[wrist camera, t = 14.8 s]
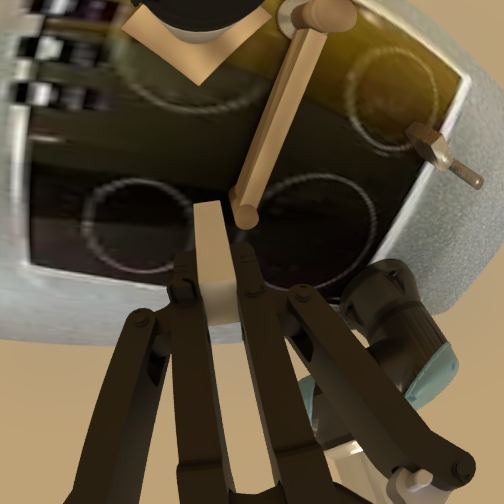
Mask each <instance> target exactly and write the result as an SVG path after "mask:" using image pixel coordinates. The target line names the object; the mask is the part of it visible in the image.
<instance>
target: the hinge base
mask: <svg viewBox="0 0 504 504" xmlns="http://www.w3.org/2000/svg"><path fill="white" fill-rule="evenodd" d="M309 1H312V0H285V1H284V2H283V3H281V5H280V6H279V8H278V10H277V13H276V23H277V26H278V28H279V30H280V31H281V33H282V34H283V35H284V36H285V37H286V38H288V39H289V40H291V41H292V39H293V37H294V34H295V32H296V30H297V29H296V28H295V27H294V26H293V24H292V22H291V13H292V11H293V9H294V8H295V7H296V6H298V5H301V4H304V3H306V2H309ZM328 33H329V32H327V33H322V34H324V35H326V36H327V35H328Z"/></svg>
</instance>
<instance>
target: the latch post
mask: <svg viewBox="0 0 504 504" xmlns="http://www.w3.org/2000/svg"><path fill="white" fill-rule="evenodd" d="M404 131H405V133H406V135H407V136H408V138H409V140H410V141H411V143H412V145H413V147H414V148H415V150H416V152H417V154H418V155H419V156H420V157H422V158H423V159H425V160H426V161H428V162H429V163H431V164H432V165H434V166H435V167H437V168H438V169H440V170H441V171H442V172H445V171H446V170H447V169H449V170H450V171H451V172H453V173H454V174H456V175H457V176H459V177H460V178H461V179H463V180H464V181H465V182H467V183H468V184H470V185H471V186H472V187H474V188H475V189H476V190H479V189H480V188H481V187H482V185H483V182H484V180H483V178H482V177H481V176H479V175H478V174H477V173H475V172H474V171H472V170H471V169H469V168H468V167H466V166H465V165H463V164H462V163H460V162H459V161H457V160H456V159H454V158H453V156H452V154H451V151H450V149H449V147H448V145H447V143H446V140H445V138H444V136H443V134H441V133H439V132H437V131H435V130H433V129H431V128H429V127H427V126H425V125H423V124H421V123H419V122H417V121H414V122H413V123H412V124H411V125H410V126H409V127H407V128H406V129H405V130H404Z"/></svg>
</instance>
